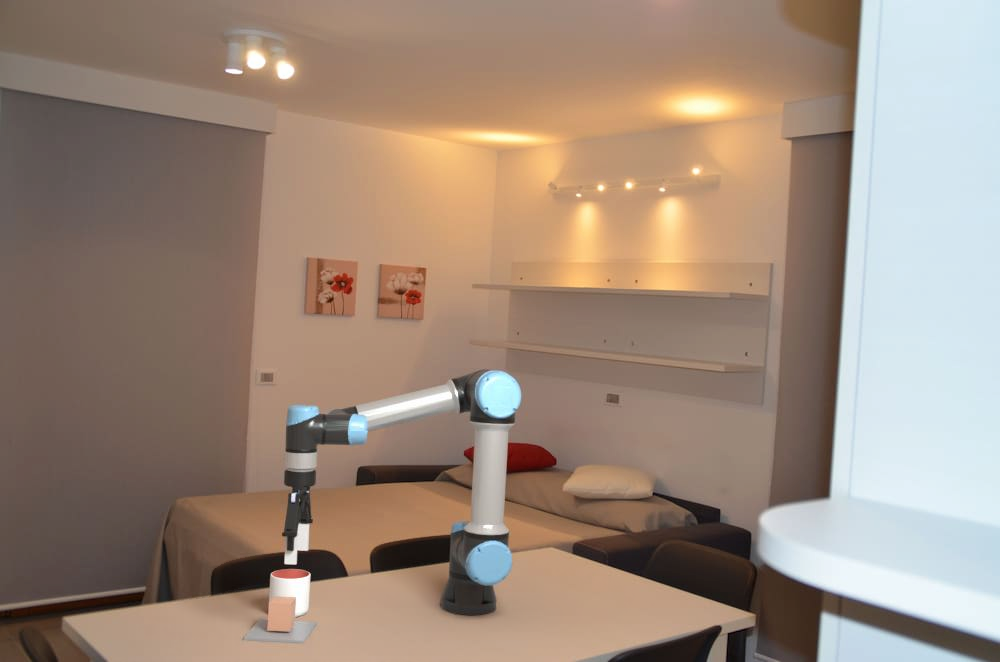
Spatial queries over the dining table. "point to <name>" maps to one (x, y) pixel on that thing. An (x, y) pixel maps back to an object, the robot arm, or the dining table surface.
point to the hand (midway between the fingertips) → (296, 557)
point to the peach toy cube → (281, 613)
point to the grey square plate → (281, 632)
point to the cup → (291, 587)
